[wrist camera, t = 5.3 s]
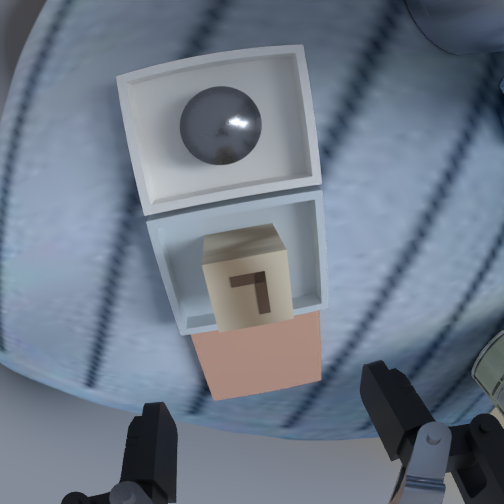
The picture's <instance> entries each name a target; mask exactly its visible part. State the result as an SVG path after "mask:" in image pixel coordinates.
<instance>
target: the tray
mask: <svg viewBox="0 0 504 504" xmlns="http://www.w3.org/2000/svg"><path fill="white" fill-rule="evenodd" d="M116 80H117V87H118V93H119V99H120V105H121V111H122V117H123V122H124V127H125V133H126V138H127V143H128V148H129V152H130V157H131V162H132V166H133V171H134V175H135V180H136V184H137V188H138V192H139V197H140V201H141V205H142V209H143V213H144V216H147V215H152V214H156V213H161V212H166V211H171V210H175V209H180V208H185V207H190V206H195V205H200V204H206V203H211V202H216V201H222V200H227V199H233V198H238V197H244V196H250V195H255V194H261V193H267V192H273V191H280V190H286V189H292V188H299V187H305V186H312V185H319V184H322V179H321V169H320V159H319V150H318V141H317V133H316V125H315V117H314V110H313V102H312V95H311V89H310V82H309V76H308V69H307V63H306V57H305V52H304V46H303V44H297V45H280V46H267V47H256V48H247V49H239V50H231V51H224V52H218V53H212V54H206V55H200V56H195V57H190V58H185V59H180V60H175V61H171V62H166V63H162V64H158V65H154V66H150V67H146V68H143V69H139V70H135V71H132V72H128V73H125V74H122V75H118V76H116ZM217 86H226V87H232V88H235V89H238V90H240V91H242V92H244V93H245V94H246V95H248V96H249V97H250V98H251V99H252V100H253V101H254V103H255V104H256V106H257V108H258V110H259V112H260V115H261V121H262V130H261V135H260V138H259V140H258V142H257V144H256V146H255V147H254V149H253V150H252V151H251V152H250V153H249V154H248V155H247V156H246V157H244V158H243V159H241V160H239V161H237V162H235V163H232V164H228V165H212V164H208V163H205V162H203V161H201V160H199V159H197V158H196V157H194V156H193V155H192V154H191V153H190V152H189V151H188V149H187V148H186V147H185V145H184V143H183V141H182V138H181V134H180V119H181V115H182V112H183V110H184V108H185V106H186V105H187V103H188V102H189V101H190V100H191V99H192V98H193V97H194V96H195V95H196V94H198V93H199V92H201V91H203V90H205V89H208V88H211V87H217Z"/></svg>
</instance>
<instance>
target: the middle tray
mask: <svg viewBox="0 0 504 504" xmlns="http://www.w3.org/2000/svg"><path fill="white" fill-rule="evenodd" d="M269 223H272V224H273V225H274V227H275V229H276V231H277V233H278V235H279V236H280V238H281V240H282V242H283V244H284V246H285V247H286V249H287V257H288V266H289V275H290V284H291V294H292V304H293V314H294V316H295V315H300V314H305V313H309V312H314V311H318V310H323V309H327V308H329V287H328V263H327V245H326V229H325V215H324V202H323V190H322V189H321V188H319V187H318V186H316V185H312V186H305V187H299V188H292V189H286V190H280V191H273V192H267V193H261V194H255V195H250V196H244V197H238V198H233V199H227V200H222V201H216V202H211V203H206V204H200V205H195V206H190V207H185V208H180V209H175V210H171V211H166V212H161V213H156V214H152V215H150V216H149V218H148V219H147V221H146V224H147V228H148V232H149V235H150V239H151V243H152V246H153V250H154V253H155V257H156V260H157V263H158V267H159V270H160V274H161V277H162V280H163V283H164V287H165V290H166V293H167V296H168V299H169V302H170V305H171V308H172V311H173V314H174V317H175V320H176V323H177V326H178V329H179V332H180V335H181V336H183V335H190V334H196V333H203V332H209V331H215V330H218V327H217V324H216V320H215V316H214V312H213V308H212V304H211V300H210V297H209V293H208V289H207V285H206V281H205V277H204V272H203V268H202V255H203V243H204V235H209V234H214V233H219V232H225V231H230V230H236V229H241V228H247V227H252V226H258V225H263V224H269Z"/></svg>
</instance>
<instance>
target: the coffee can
mask: <svg viewBox="0 0 504 504" xmlns="http://www.w3.org/2000/svg"><path fill="white" fill-rule="evenodd" d="M471 376H472V378H473V379H474V380H475V381H476V382H477V383H478V385H479V386H480V387H481V388H482V390H483V391H484V392H485V394H486V395H487V396H488V397H489V399H490V400H491V401H492V402H493V404H494V405H495V406H496V408H497V409H498V410H499V412H500V413H501V414H502V416H503V417H504V330H502V331H500V332H499V333H498V334H497V335H495V336H494V337H493V338H492V339H491V340H490V341H489V342H488V344H487V345H486V346H485V347H484V348H483V350H482V351H481V353H480V354H479V356H478V357H477V359H476V361H475V363H474V365H473V368H472V372H471Z"/></svg>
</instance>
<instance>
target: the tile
mask: <svg viewBox="0 0 504 504" xmlns="http://www.w3.org/2000/svg"><path fill="white" fill-rule="evenodd" d="M190 335H191V338H192V341H193V344H194V346H195V349H196V352H197V355H198V358H199V361H200V364H201V367H202V369H203V372H204V375H205V378H206V381H207V383H208V386H209V389H210V391H211V394H212V397H213V399H214V400H222V399H228V398H235V397H241V396H247V395H253V394H259V393H264V392H269V391H274V390H279V389H284V388H289V387H294V386H298V385H303V384H307V383H311V382H315V381H320V380H321V342H320V313H319V310H318V311H314V312H309V313H305V314H300V315H295V316H294V319H290V320H285V321H280V322H275V323H270V324H265V325H259V326H254V327H249V328H243V329H238V330H232V331H226V332H220V333H219V331H218V330H215V331H209V332H203V333H196V334H190Z"/></svg>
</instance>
